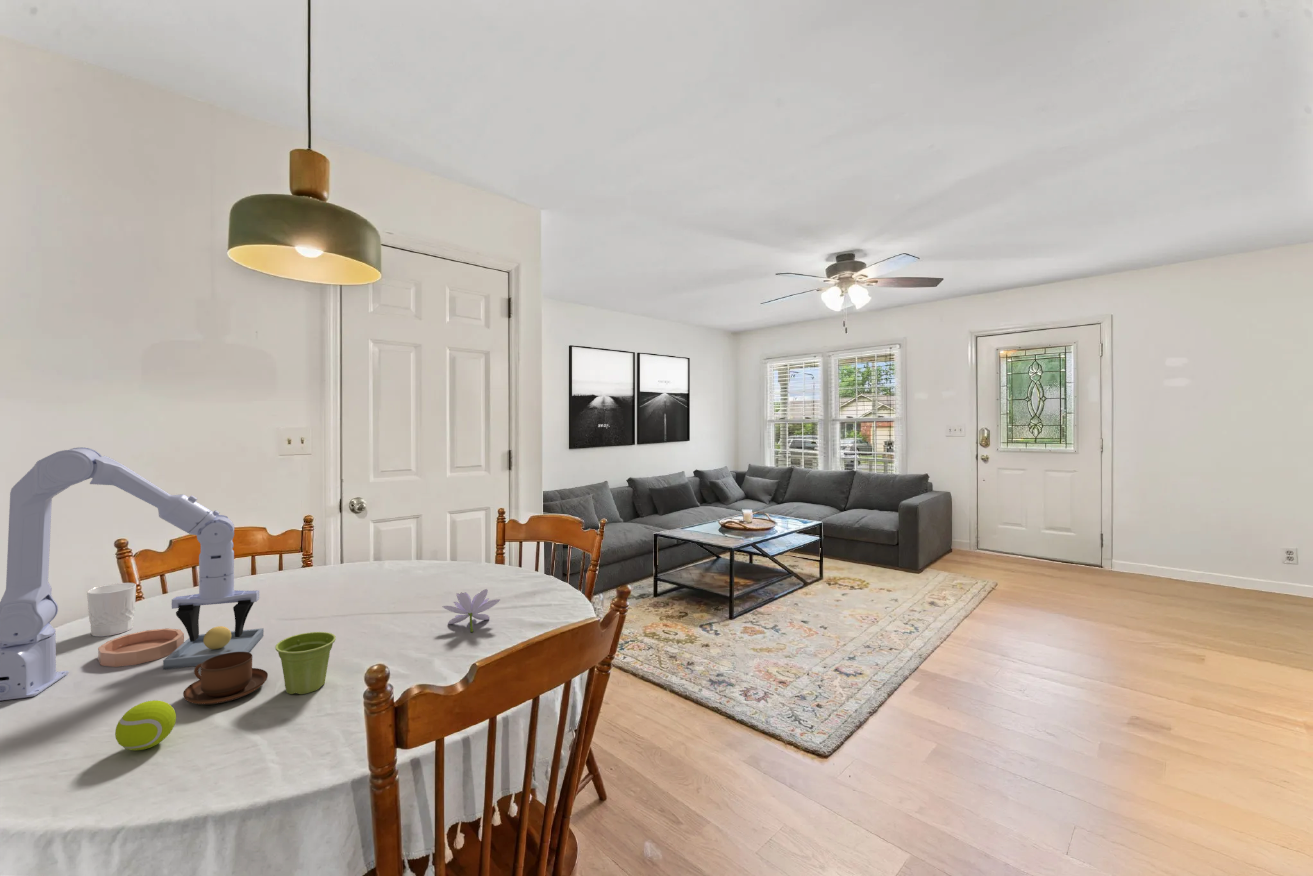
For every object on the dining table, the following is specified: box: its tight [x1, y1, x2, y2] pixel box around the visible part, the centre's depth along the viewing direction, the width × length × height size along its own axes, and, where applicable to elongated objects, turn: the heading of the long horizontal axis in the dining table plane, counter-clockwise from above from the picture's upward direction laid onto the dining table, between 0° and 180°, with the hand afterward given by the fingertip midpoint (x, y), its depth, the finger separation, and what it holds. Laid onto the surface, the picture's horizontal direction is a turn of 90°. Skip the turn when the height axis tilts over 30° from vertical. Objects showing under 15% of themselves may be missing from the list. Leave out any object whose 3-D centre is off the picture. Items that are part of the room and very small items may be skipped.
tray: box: [162, 627, 265, 670], centre depth 114 cm, size 13×13×2 cm
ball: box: [203, 625, 232, 649], centre depth 114 cm, size 5×5×5 cm
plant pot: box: [274, 631, 337, 695], centre depth 100 cm, size 9×9×9 cm
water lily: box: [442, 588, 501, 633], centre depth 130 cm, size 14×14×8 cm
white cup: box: [86, 582, 137, 637], centre depth 123 cm, size 8×8×10 cm
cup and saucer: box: [182, 652, 269, 705], centre depth 97 cm, size 12×12×6 cm
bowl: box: [97, 627, 185, 668], centre depth 112 cm, size 13×13×3 cm
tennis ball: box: [114, 699, 177, 752], centre depth 81 cm, size 7×7×7 cm
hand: (216, 637), depth 114 cm, fingers open, 7 cm apart
